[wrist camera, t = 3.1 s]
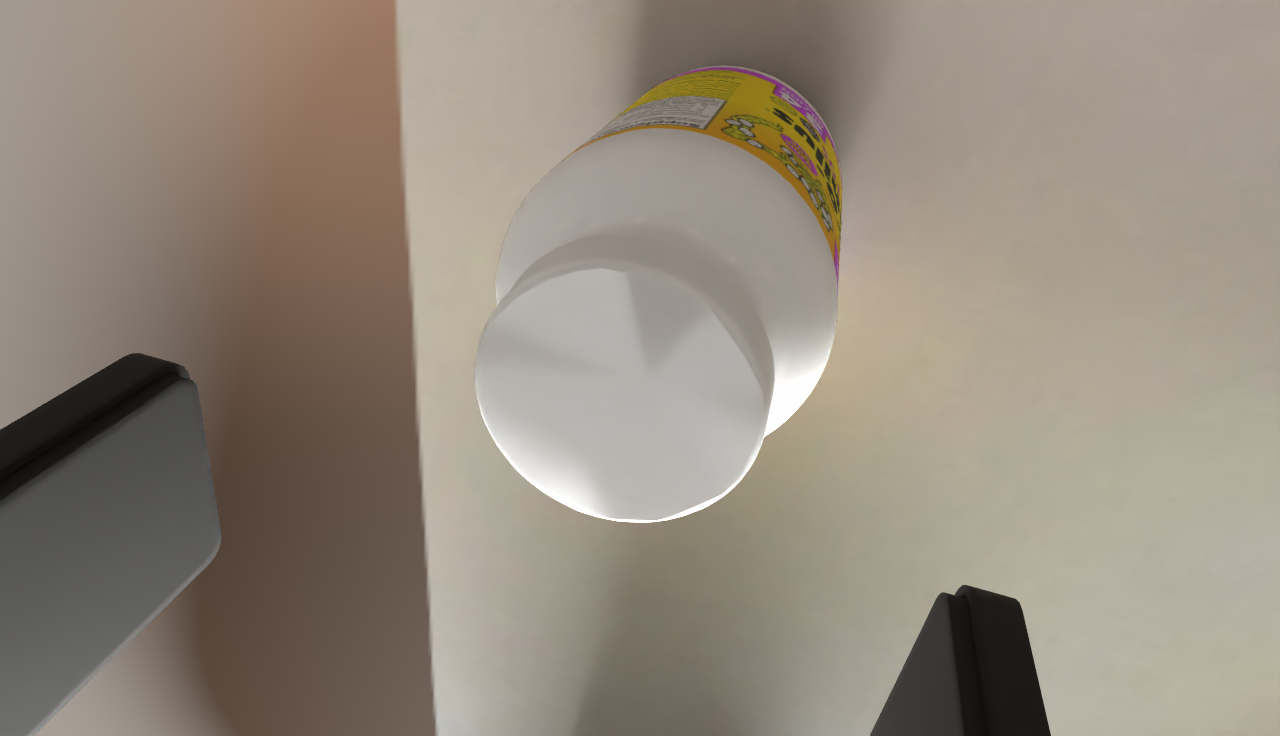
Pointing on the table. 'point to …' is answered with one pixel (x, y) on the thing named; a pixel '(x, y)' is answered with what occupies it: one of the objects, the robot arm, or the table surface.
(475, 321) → the table surface
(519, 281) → the supplement bottle
